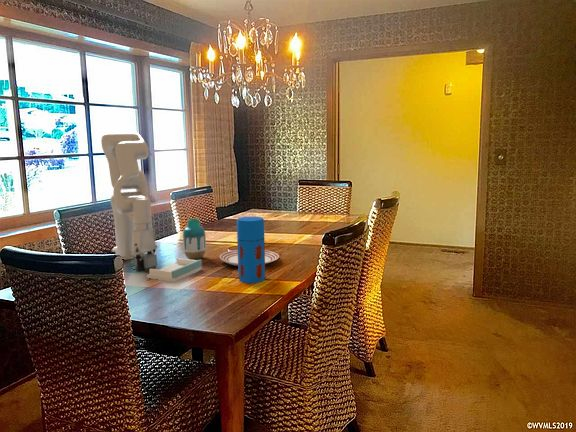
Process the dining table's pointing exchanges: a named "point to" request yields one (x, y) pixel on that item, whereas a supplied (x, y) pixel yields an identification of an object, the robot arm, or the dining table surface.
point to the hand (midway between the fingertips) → (145, 266)
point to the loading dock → (176, 270)
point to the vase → (194, 239)
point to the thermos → (251, 249)
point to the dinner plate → (232, 257)
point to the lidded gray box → (147, 261)
